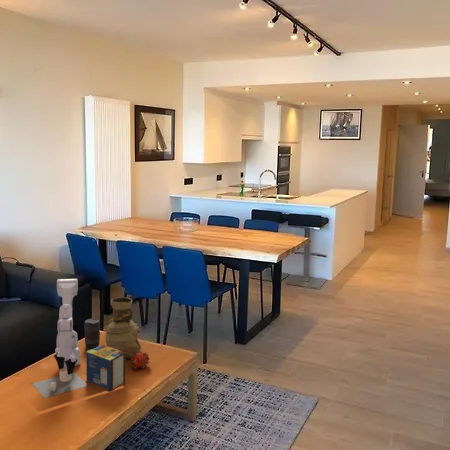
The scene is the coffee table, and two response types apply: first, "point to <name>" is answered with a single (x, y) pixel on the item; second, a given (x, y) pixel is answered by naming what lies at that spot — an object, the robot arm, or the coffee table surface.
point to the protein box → (105, 367)
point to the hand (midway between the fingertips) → (65, 371)
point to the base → (58, 385)
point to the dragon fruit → (140, 360)
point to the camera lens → (92, 333)
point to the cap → (65, 375)
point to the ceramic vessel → (123, 328)
